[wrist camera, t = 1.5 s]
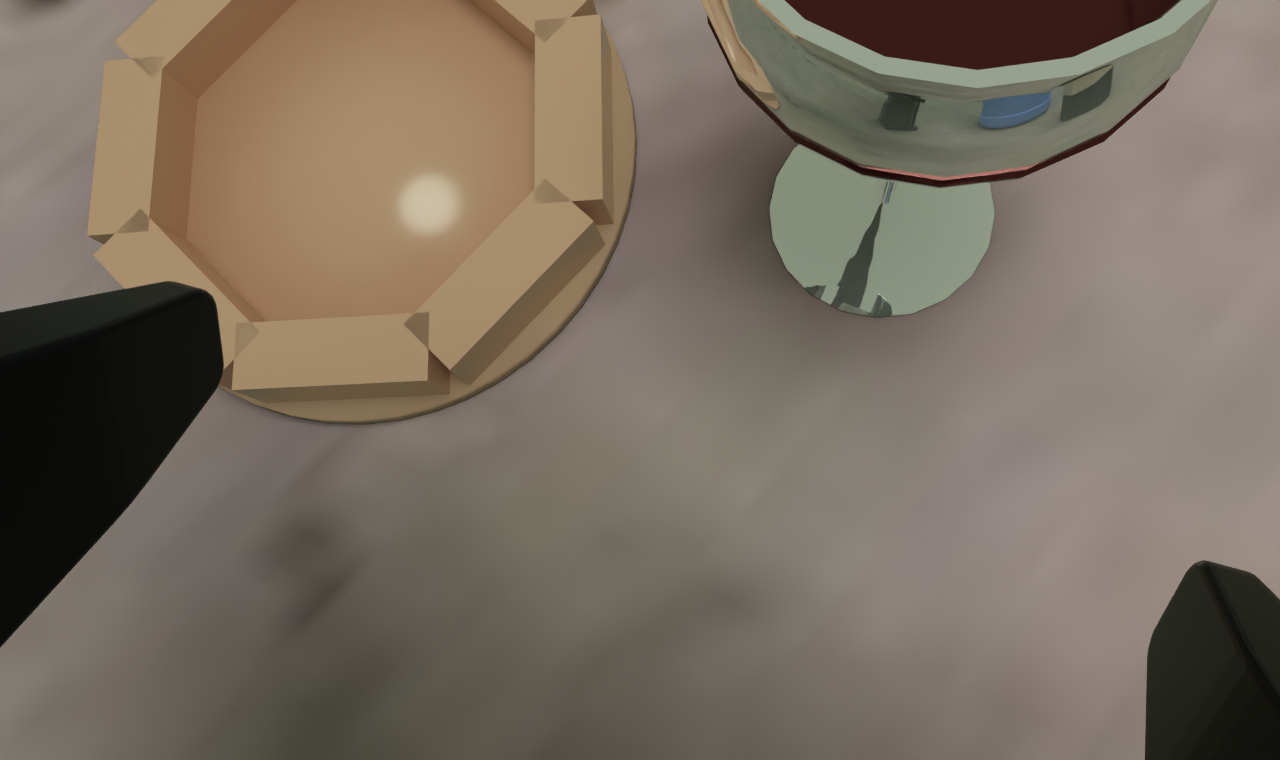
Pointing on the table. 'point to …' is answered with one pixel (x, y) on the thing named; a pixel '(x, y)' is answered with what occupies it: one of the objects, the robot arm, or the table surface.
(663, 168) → the table surface
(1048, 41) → the wineglass
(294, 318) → the coaster
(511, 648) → the table surface
